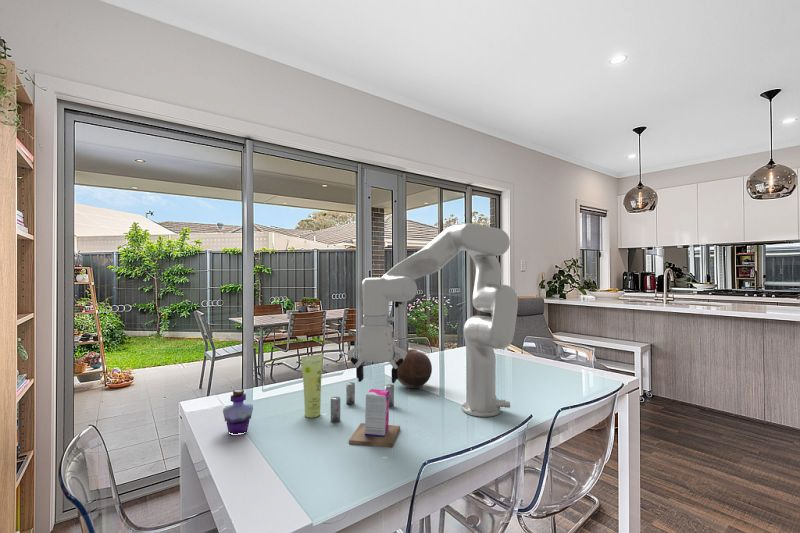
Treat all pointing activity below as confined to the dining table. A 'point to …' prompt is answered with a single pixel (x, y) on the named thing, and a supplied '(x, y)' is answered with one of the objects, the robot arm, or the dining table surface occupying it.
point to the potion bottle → (238, 413)
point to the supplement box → (377, 413)
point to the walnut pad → (384, 441)
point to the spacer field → (351, 400)
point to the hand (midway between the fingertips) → (377, 381)
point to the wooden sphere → (414, 369)
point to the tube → (312, 384)
